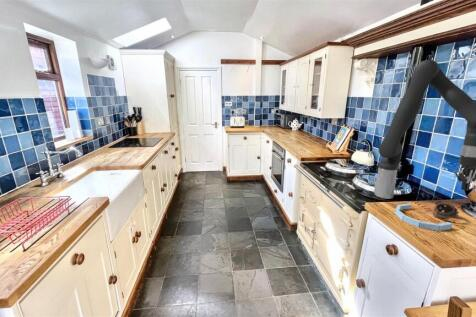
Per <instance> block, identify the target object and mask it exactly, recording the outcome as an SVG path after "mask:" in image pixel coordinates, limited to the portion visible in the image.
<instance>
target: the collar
mask: <svg viewBox="0 0 476 317" xmlns="http://www.w3.org/2000/svg"><path fill="white" fill-rule="evenodd" d="M410 208H411V209H412V204H410V203H402V204H398V205H397V206H396V207H395V209H394V215H395V214H396V215H397V216H398V217H399V218H400V219H399V218H398V217H397V216H396V215H395V216H396V217H397V218H398V219H399V220H400V221H402V222H403V221H404V222H403V223H406V222H407V223H406V224H408V225H411V226H414V227H416V228H420V229H424V230H425V229H426V230H430V231H431V230H432V231H446V230H452V228H453V227H452V226H453V223H452V222H448V221H447V222H440V223H436V222H435V223H433V222H427V221H421V220H418V219H416V218H412V217H410V216H408V215H405V213H403V212H402V211H404V210H403V209H409V210H411V209H410ZM400 210H401V211H400Z"/></svg>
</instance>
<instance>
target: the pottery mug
mask: <svg viewBox="0 0 476 317" xmlns="http://www.w3.org/2000/svg"><path fill="white" fill-rule="evenodd" d="M434 203H435V205H434V208H433V215H432V216H433V217H434V218H441V219H447V218H448V219H449V218H455V219H456V220H458V219H459V214H460V212H459V211H458V209H457V208H456V207H455V205H453V204H452V203H449V202H442V201H440V200H438V201H435V202H434Z"/></svg>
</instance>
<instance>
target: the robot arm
mask: <svg viewBox="0 0 476 317" xmlns="http://www.w3.org/2000/svg"><path fill="white" fill-rule="evenodd" d="M412 72H413V73H412V76H411V78H410V82H409V85H408V86H407V89H406V91H405V93H404V95H403V97H402V98H401V100H400V103H399V104H398V106H397V108H396V110H395V113H394V115H393V118H392V120H391V123H390V125H389V127H388V130H387V132H386V134H385V135H384V138H383V139H382V141H381V143H380V145H379V146H378V153H379V155H380V157H381V159H380V161H379V162H378V166H377V167H378V169H377V176H376V177H377V178H375V181H374V182H375V183H374V189H373V190H374V191H373V194H374V195H375V196H376V197H378V198H381V199H385V200H386V199H390V200H391V199H393V198H394V194H395V188H396V181H397V173H398V167H399V165H400V162H401V157H402V151H403V147H402V144H401V143H400V142H401V140H402V137H403V136H404V134H405V133H406V132H407V131H408V130H409V128H410V127H411V126H412V125H413V123H414V121H415V120H416V118H417V116H418V114H419V112H420V109H421V107H422V104H423V99H424V96H425V93H426V91H427V88H428V87H429V85H430V86H431V87H432V88H433V89H434V90H436V92H437V93H438V94H439V95H440V96H441V98H442V99H443V100H444V101H445V102H446V103H447V104H448V105H449V106H450V107H451V108H452V109H454V111H455V112H457V113H458V114H459V115H460V116H461V117H462V118H463V119H464V120H465V121H466V129H465V130H466V133H465V136H464V138H463V139H464V140H463V143H462V144H463V145H462V148H461V151H460V156H459V161H458V163H459V164H460V167H459V168H460V169H459V170H458V171H455V172H454V175H455V177H456V178H457V181H458V182H461V188H460V189H461V190H463V191H469V190H470V187H471V183H473V182H475V181H476V101H475V100H474V99H473V98H472V97H471V96H470V95H469V94H468V93H466V92H465V91H464V90H463V89H461V87H459V86H458V85H457V84H455V83H454V82H453V81H452V80H451V79H450V78H448V76H447V75H446V74H445V73H444V71H443V70H442V68H440V65H439V63H438V62H437V61H435V60H432V59H426V60H422V61H421V62H419V63H418V64H416V66H415V67H414V70H413V71H412Z"/></svg>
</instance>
